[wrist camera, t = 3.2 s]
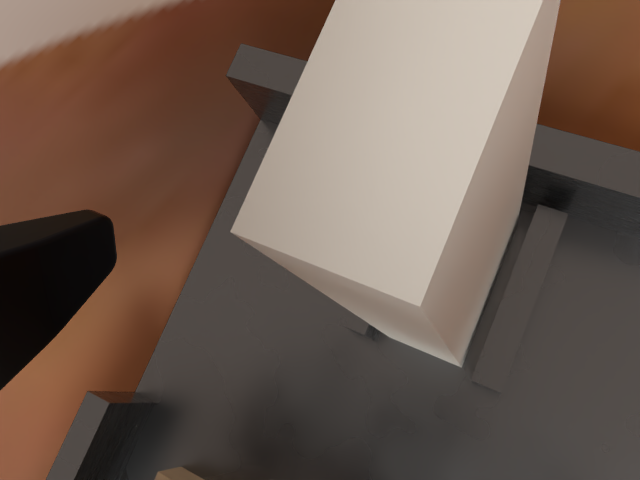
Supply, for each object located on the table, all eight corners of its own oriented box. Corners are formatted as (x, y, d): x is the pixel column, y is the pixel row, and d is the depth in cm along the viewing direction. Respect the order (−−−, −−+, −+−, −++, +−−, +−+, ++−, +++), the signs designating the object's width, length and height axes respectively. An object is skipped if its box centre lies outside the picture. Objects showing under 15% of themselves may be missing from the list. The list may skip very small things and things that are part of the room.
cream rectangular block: (461, 367, 17) (420, 307, 6) (389, 337, 18) (230, 231, 7) (517, 223, 18) (576, -84, 6) (445, 199, 18) (386, -113, 7)
